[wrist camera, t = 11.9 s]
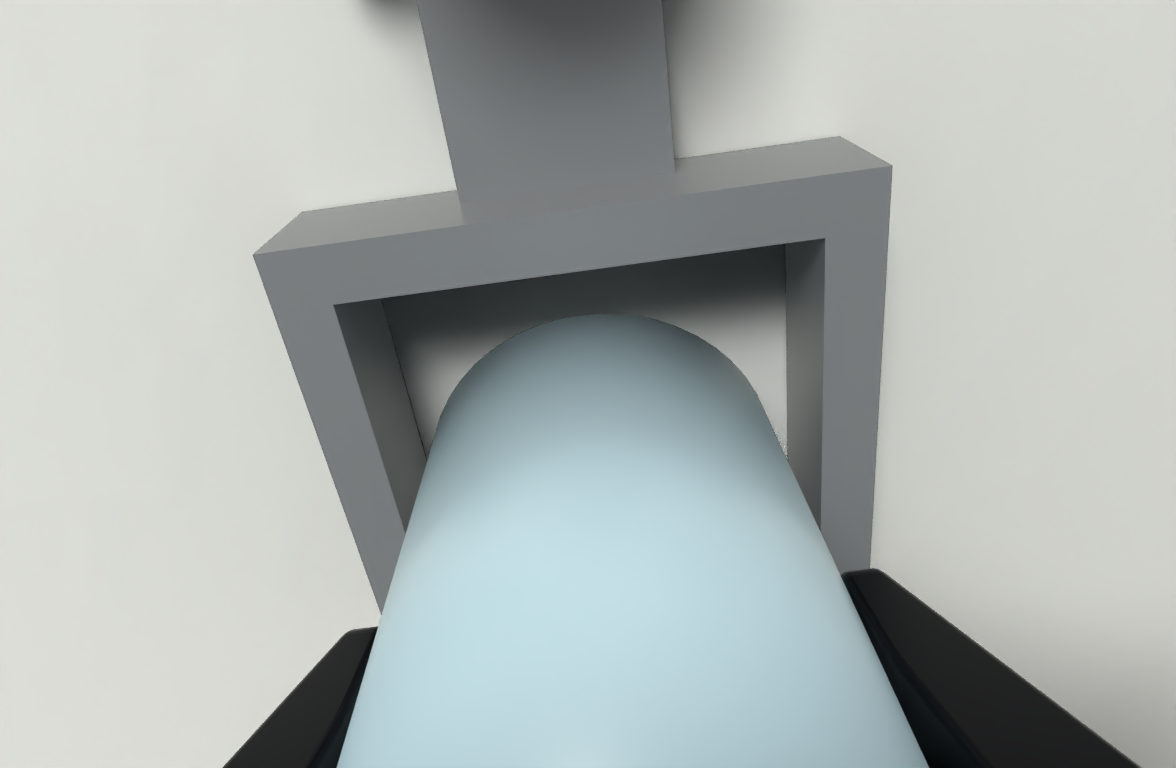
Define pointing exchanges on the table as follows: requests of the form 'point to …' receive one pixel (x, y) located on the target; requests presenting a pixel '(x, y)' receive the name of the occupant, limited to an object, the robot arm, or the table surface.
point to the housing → (582, 247)
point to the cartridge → (617, 578)
